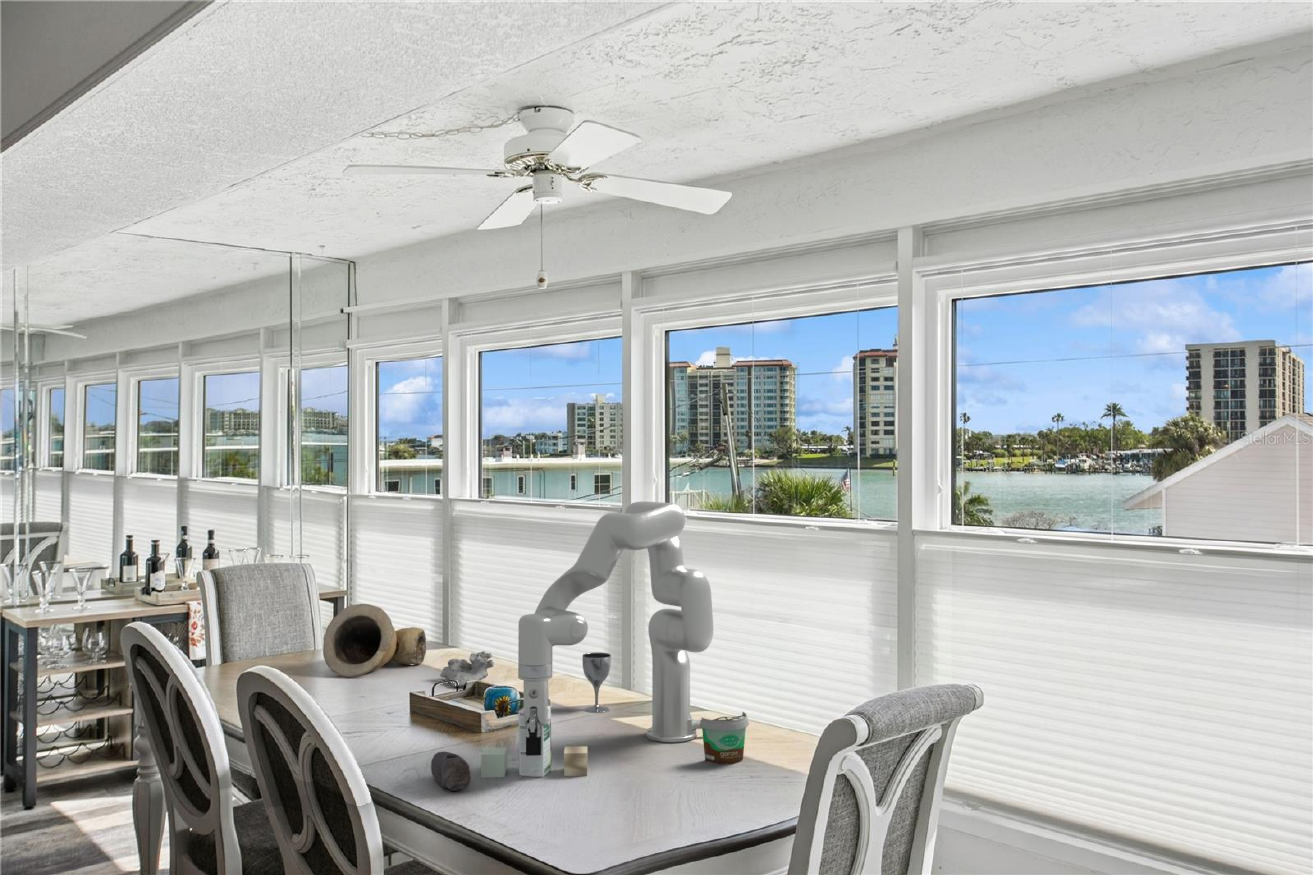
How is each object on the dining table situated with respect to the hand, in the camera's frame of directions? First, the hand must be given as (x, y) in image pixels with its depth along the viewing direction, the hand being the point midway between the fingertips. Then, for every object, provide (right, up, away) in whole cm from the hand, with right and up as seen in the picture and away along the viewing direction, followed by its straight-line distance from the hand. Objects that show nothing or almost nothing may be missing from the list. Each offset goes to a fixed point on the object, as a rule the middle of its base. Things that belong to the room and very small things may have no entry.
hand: (535, 748), depth 213 cm
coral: (-33, -8, +87) cm, 93 cm away
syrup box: (0, -6, 0) cm, 6 cm away
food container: (+44, -6, +8) cm, 45 cm away
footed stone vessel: (-67, -8, +108) cm, 127 cm away
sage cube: (-9, -5, -1) cm, 10 cm away
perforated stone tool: (-18, -5, -8) cm, 20 cm away
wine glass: (+10, -7, +54) cm, 56 cm away
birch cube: (+9, -6, 0) cm, 10 cm away
